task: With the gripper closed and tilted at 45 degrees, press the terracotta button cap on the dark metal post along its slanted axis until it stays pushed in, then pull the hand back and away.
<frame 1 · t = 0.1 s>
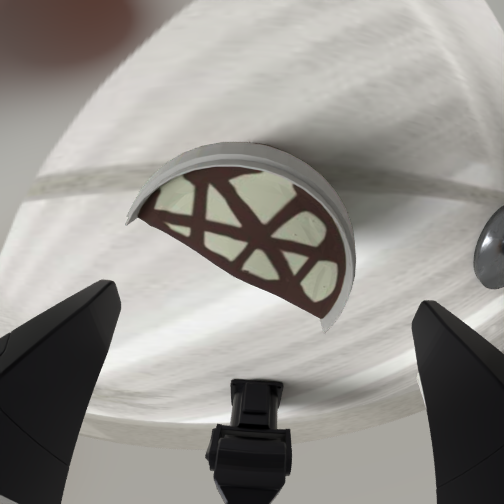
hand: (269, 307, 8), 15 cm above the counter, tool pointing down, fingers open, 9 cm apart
food container: (271, 173, 21), on the counter
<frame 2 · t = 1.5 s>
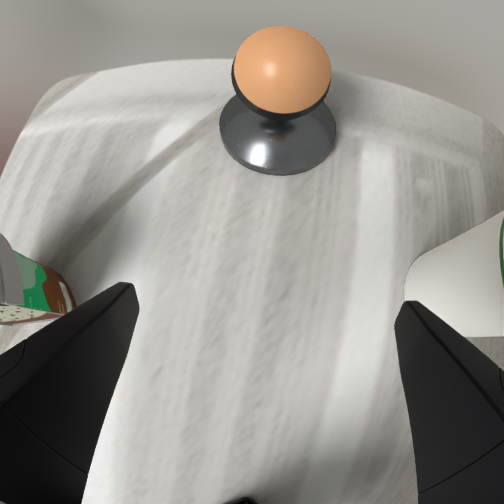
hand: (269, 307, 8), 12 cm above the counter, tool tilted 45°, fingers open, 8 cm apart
button post: (277, 127, 23), on the counter
cylindrical container: (437, 293, 20), on the counter
button cap: (282, 69, 16), point 8 cm above the counter, slide at 0.0 cm
food container: (40, 289, 21), on the counter
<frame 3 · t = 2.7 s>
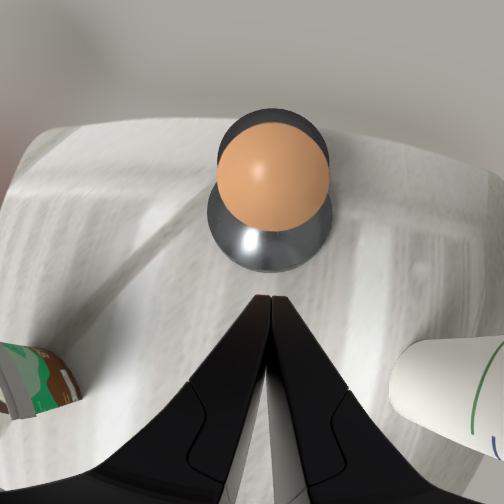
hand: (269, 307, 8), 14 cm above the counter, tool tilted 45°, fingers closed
button post: (269, 212, 23), on the counter
cylindrical container: (422, 379, 19), on the counter
button cap: (273, 175, 16), point 8 cm above the counter, slide at 0.0 cm
food container: (42, 367, 20), on the counter
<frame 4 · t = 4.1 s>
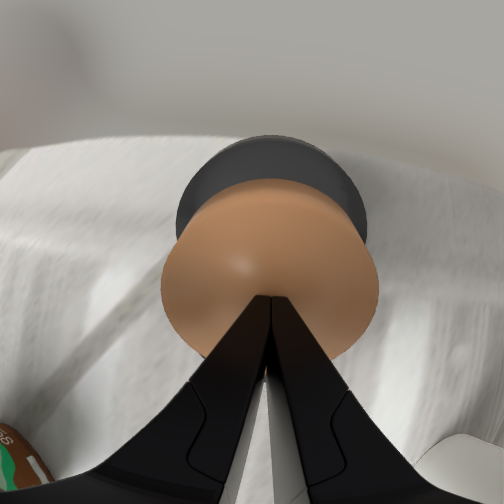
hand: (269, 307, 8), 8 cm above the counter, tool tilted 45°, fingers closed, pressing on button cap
button post: (266, 290, 16), on the counter
cylindrical container: (441, 474, 12), on the counter
button cap: (270, 287, 8), point 8 cm above the counter, slide at 0.3 cm, touching gripper
food container: (12, 442, 13), on the counter
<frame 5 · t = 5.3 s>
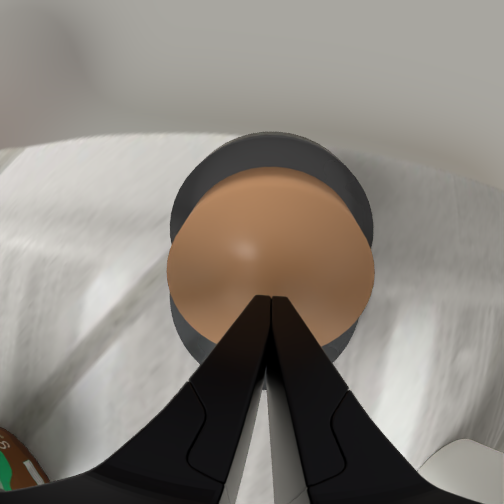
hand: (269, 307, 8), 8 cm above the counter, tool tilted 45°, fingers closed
button post: (266, 294, 15), on the counter
cylindrical container: (443, 479, 12), on the counter
button cap: (270, 270, 9), point 7 cm above the counter, slide at 1.6 cm
food container: (9, 446, 12), on the counter
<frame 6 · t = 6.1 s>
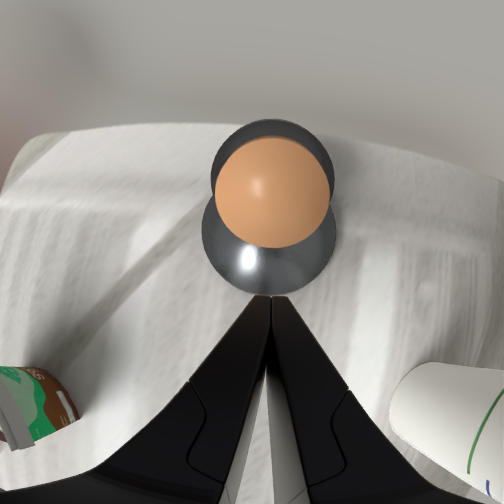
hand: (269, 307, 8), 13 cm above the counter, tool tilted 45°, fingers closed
button post: (269, 230, 22), on the counter
cylindrical container: (423, 401, 18), on the counter
button cap: (272, 191, 16), point 7 cm above the counter, slide at 1.6 cm
food container: (39, 386, 19), on the counter
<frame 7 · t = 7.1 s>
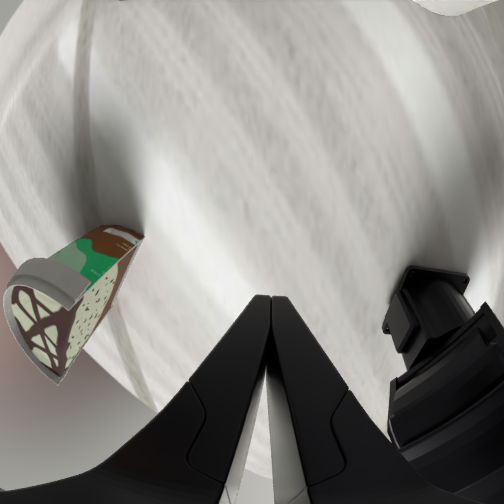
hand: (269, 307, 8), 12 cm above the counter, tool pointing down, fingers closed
food container: (99, 255, 23), on the counter
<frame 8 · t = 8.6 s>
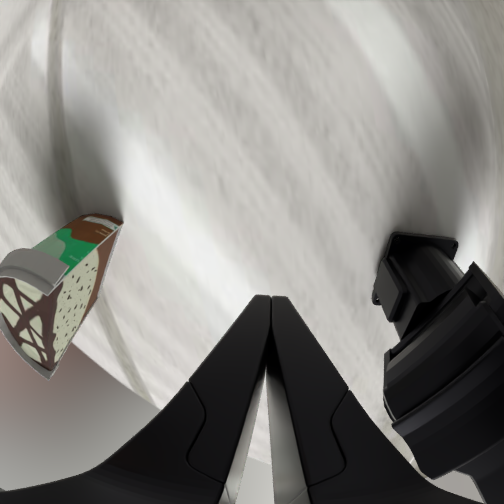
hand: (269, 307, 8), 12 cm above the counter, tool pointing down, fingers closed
food container: (82, 246, 22), on the counter
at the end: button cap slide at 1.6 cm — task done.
